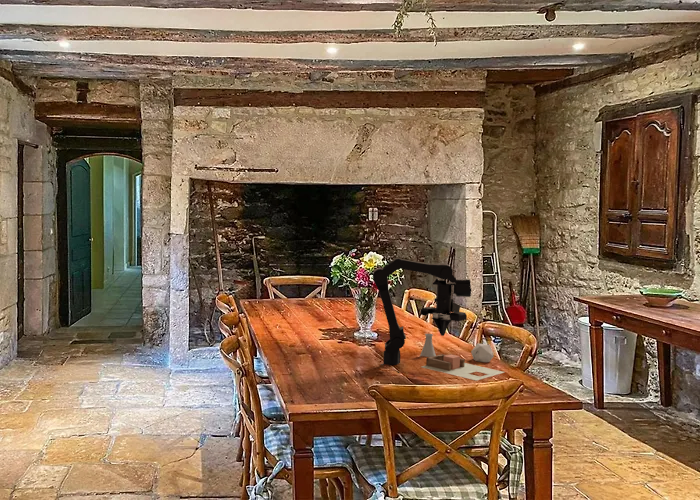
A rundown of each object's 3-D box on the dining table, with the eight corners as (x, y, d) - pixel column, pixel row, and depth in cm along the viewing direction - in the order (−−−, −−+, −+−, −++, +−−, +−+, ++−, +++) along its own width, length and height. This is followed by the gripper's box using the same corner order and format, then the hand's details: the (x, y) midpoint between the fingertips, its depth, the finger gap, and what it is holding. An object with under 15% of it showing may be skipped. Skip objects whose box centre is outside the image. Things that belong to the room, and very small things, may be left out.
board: (476, 383, 253) (476, 380, 253) (420, 369, 271) (420, 366, 271) (505, 375, 266) (505, 372, 266) (450, 362, 285) (450, 359, 285)
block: (452, 369, 268) (452, 358, 268) (443, 367, 271) (443, 355, 271) (459, 367, 271) (459, 356, 271) (450, 365, 274) (450, 354, 274)
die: (469, 361, 290) (465, 346, 284) (485, 350, 292) (482, 335, 286) (482, 373, 283) (478, 357, 278) (498, 361, 286) (495, 345, 280)
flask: (438, 356, 295) (438, 333, 294) (435, 360, 288) (436, 336, 287) (421, 355, 297) (421, 332, 296) (418, 359, 290) (418, 335, 289)
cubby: (448, 370, 266) (449, 363, 266) (426, 365, 274) (426, 357, 274) (464, 366, 273) (464, 359, 273) (441, 361, 281) (442, 354, 281)
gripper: (475, 297, 272) (474, 336, 273) (437, 291, 285) (436, 329, 286) (458, 299, 264) (457, 340, 265) (420, 293, 277) (419, 332, 278)
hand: (442, 335), depth 274 cm, fingers closed
